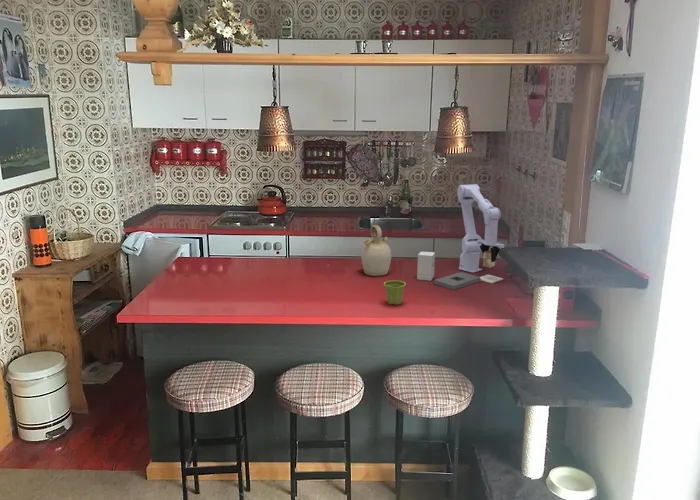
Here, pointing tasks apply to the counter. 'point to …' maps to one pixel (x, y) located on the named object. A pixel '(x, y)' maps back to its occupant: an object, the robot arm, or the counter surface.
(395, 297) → the plant pot
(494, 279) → the mat
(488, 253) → the plug
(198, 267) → the counter surface
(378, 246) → the jug
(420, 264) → the supplement box
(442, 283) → the grey flat block
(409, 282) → the counter surface
